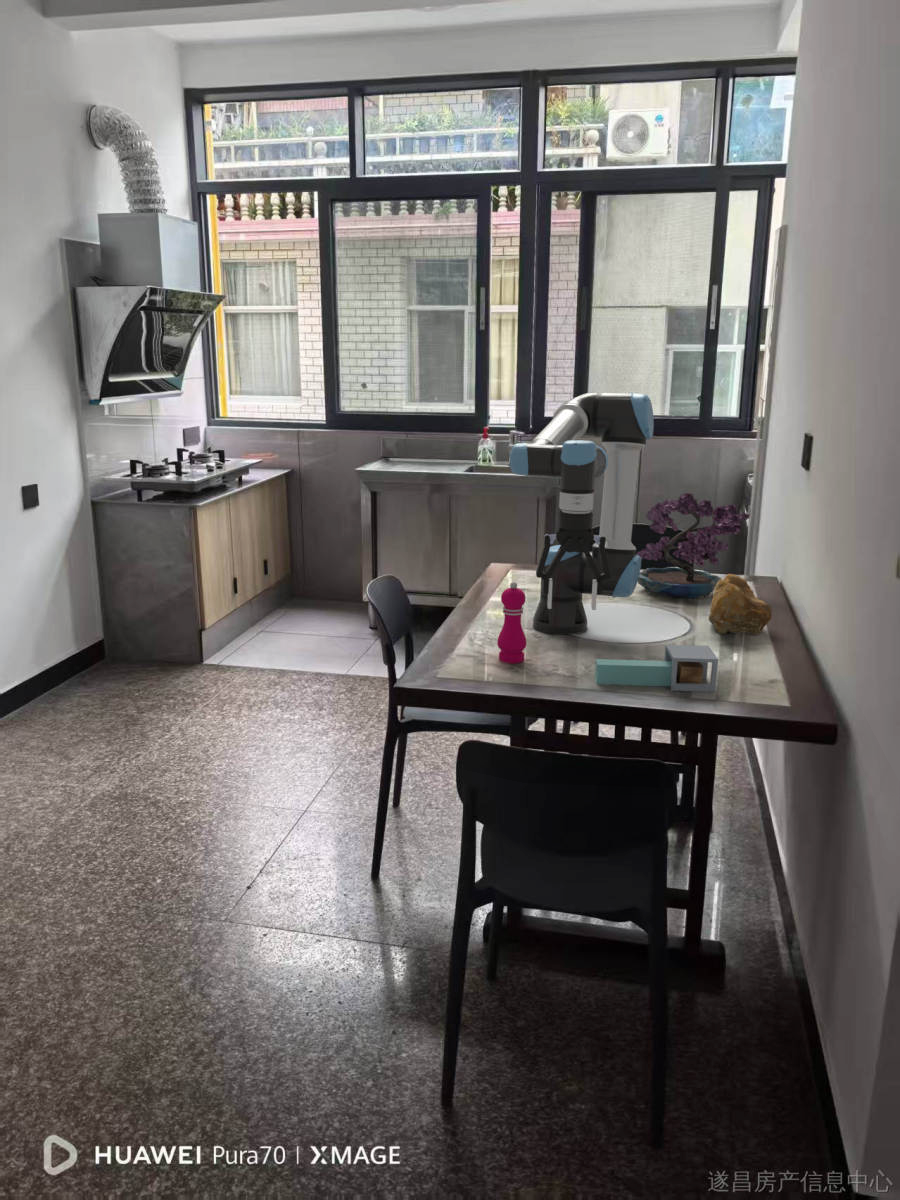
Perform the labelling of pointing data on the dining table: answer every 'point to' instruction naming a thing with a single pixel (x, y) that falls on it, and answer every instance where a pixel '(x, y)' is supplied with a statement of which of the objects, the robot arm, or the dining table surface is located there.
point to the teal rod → (633, 672)
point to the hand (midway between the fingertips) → (571, 607)
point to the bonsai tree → (687, 548)
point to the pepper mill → (512, 626)
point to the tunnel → (691, 655)
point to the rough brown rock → (737, 607)
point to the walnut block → (689, 672)
